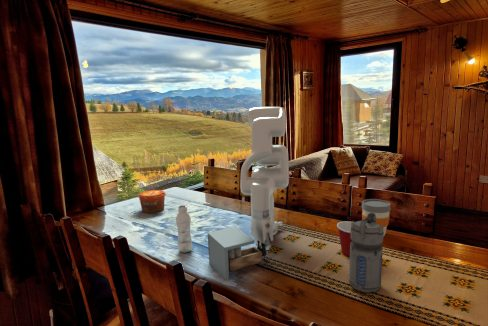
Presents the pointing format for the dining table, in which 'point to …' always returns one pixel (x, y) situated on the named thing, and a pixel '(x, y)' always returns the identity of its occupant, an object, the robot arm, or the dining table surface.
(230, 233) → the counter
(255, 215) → the robot arm
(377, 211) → the reusable coffee cup
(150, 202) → the food container
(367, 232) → the beverage bottle
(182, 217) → the plastic bottle
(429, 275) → the dining table surface
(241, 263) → the tray
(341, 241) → the plastic cup
